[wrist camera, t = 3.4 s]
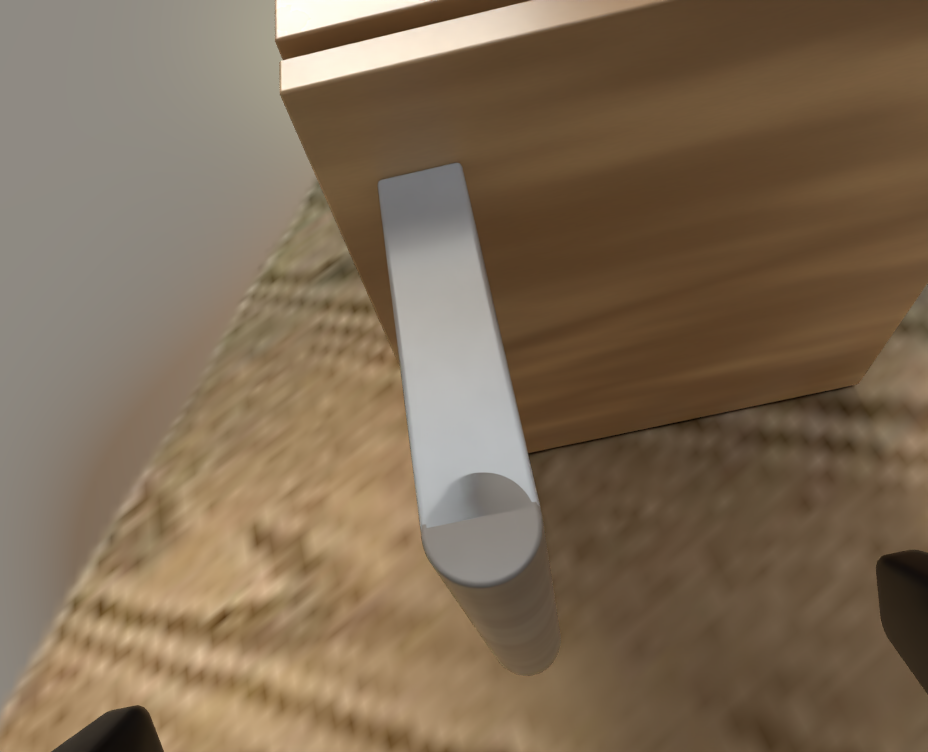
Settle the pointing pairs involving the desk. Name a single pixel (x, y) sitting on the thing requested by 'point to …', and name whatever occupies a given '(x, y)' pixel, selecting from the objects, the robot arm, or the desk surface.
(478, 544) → the cupboard door
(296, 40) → the cupboard
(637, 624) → the desk surface
